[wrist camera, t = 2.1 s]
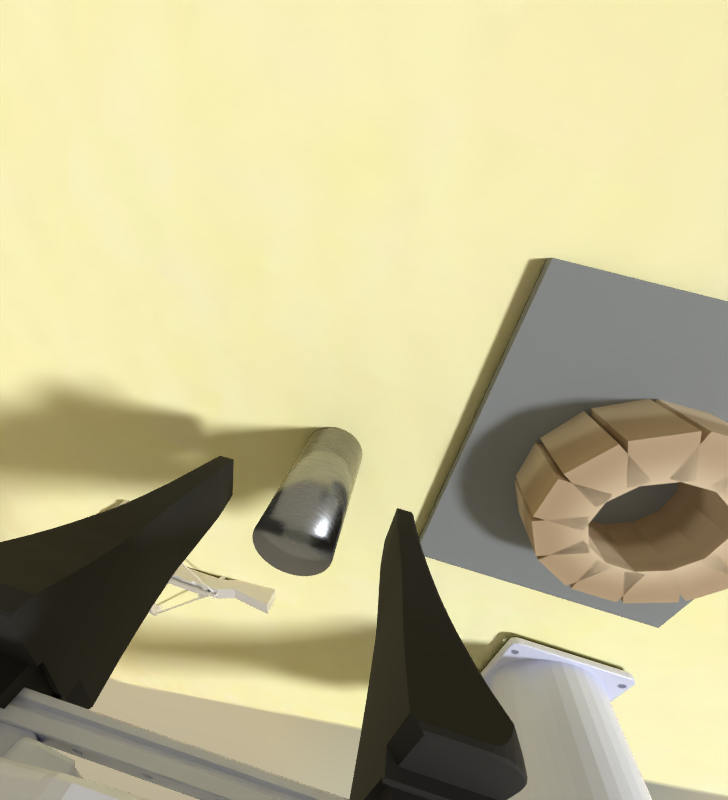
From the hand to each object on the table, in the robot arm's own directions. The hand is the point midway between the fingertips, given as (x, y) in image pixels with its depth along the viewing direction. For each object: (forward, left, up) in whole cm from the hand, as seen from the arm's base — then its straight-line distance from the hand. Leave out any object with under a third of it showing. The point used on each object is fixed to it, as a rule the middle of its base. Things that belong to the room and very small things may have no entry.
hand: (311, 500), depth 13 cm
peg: (0, 0, -4) cm, 4 cm away
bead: (+3, -13, -3) cm, 14 cm away
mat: (+3, -13, -4) cm, 14 cm away
